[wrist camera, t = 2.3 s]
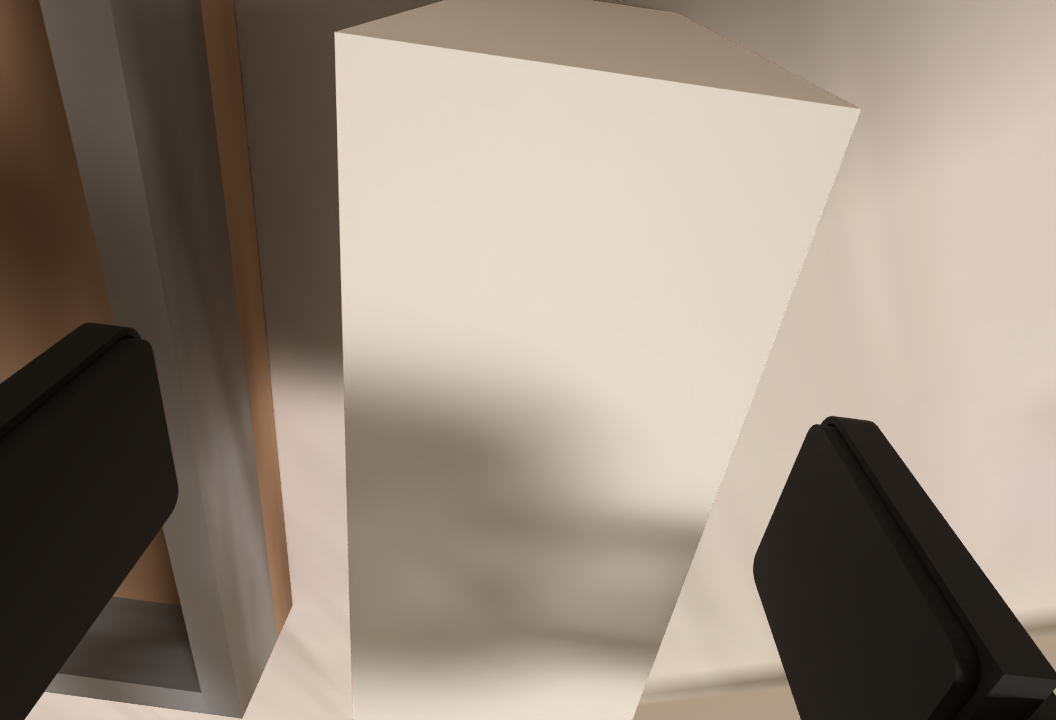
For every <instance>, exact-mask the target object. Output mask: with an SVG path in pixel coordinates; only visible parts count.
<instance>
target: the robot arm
mask: <svg viewBox="0 0 1056 720" xmlns="http://www.w3.org/2000/svg"><path fill="white" fill-rule="evenodd" d="M178 493H179V489H178V481H177V476H176V471H175V465H174V460H173V455H172V449H171V444H170V439H169V433H168V428H167V423H166V417H165V412H164V407H163V401H162V396H161V391H160V385H159V380H158V374H157V369H156V364H155V358H154V353H153V349H152V346H151V344H150V343H149V342H148V341H146V340H143V339H141V336H140V335H139V333H138V332H137V330H135V329H133V328H131V327H123V326H115V325H107V324H99V323H84V324H82V325H80V326H79V327H77V328H76V329H75V330H73V331H72V332H70V333H69V334H68V335H66V336H65V337H64V338H62V339H61V340H59V341H58V342H57V343H55V344H54V345H53V346H51V347H50V348H49V349H47V350H46V351H44V352H43V353H42V354H40V355H39V356H38V357H36V358H35V359H34V360H32V361H31V362H29V363H28V364H27V365H25V366H24V367H23V368H21V369H20V370H18V371H17V372H16V373H14V374H13V375H12V376H10V377H9V378H8V379H6V380H5V381H3V382H2V383H1V384H0V720H25V718H26V717H27V715H28V714H29V713H30V711H31V710H32V708H33V707H34V706H35V704H36V703H37V701H38V700H39V699H40V697H41V696H42V694H43V693H44V692H45V690H46V689H47V687H48V686H49V685H50V683H51V682H52V680H53V679H54V678H55V676H56V675H57V673H58V672H59V671H60V669H61V668H62V666H63V665H64V664H65V662H66V661H67V659H68V658H69V657H70V655H71V654H72V652H73V651H74V650H75V648H76V647H77V645H78V644H79V643H80V641H81V640H82V638H83V637H84V636H85V634H86V633H87V631H88V630H89V629H90V627H91V626H92V624H93V623H94V622H95V620H96V619H97V617H98V616H99V615H100V613H101V612H102V610H103V609H104V608H105V606H106V605H107V603H108V602H109V601H110V599H111V598H112V596H113V595H114V594H115V592H116V591H117V589H118V588H119V587H120V585H121V584H122V582H123V581H124V580H125V578H126V577H127V575H128V574H129V573H130V571H131V570H132V568H133V567H134V566H135V564H136V563H137V561H138V560H139V559H140V557H141V556H142V554H143V553H144V552H145V550H146V549H147V547H148V546H149V545H150V543H151V542H152V540H153V539H154V538H155V536H156V535H157V533H158V532H159V531H160V529H161V528H162V526H163V525H164V524H165V522H166V521H167V519H168V518H169V517H170V515H171V514H172V512H173V510H174V508H175V506H176V503H177V499H178ZM753 574H754V580H755V584H756V587H757V590H758V593H759V596H760V599H761V602H762V605H763V608H764V611H765V614H766V617H767V620H768V623H769V626H770V628H771V631H772V634H773V637H774V640H775V643H776V646H777V649H778V652H779V655H780V658H781V661H782V664H783V667H784V670H785V673H786V676H787V679H788V682H789V685H790V688H791V691H792V694H793V697H794V700H795V703H796V706H797V709H798V712H799V715H800V718H801V720H1056V695H1055V694H1054V693H1053V690H1054V689H1055V688H1056V672H1055V670H1054V669H1053V668H1052V666H1051V665H1050V663H1049V662H1048V661H1047V659H1046V658H1045V657H1044V655H1043V654H1042V652H1041V651H1040V650H1039V648H1038V647H1037V645H1036V644H1035V643H1034V641H1033V640H1032V639H1031V637H1030V636H1029V634H1028V633H1027V632H1026V630H1025V629H1024V628H1023V626H1022V625H1021V623H1020V622H1019V621H1018V619H1017V618H1016V617H1015V615H1014V614H1013V612H1012V611H1011V610H1010V608H1009V607H1008V605H1007V604H1006V603H1005V601H1004V600H1003V599H1002V597H1001V596H1000V594H999V593H998V592H997V590H996V589H995V588H994V586H993V585H992V583H991V582H990V581H989V579H988V578H987V577H986V575H985V574H984V572H983V571H982V570H981V568H980V567H979V565H978V564H977V563H976V561H975V560H974V559H973V557H972V556H971V554H970V553H969V552H968V550H967V549H966V548H965V546H964V545H963V543H962V542H961V541H960V539H959V538H958V537H957V535H956V534H955V532H954V531H953V530H952V528H951V527H950V526H949V524H948V523H947V521H946V520H945V519H944V517H943V516H942V514H941V513H940V512H939V510H938V509H937V508H936V506H935V505H934V503H933V502H932V501H931V499H930V498H929V497H928V495H927V494H926V492H925V491H924V490H923V488H922V487H921V486H920V484H919V483H918V481H917V480H916V479H915V477H914V476H913V474H912V473H911V472H910V470H909V469H908V468H907V466H906V465H905V463H904V462H903V461H902V459H901V458H900V457H899V455H898V454H897V452H896V451H895V450H894V448H893V447H892V446H891V444H890V443H889V441H888V440H887V439H886V437H885V436H884V434H883V433H882V432H881V430H880V429H879V428H878V426H877V425H876V424H875V423H874V422H871V421H867V420H859V419H851V418H844V417H836V416H830V417H827V418H826V419H825V420H824V421H823V422H822V424H821V425H819V424H816V425H813V426H812V427H811V428H810V429H809V431H808V433H807V435H806V437H805V440H804V442H803V444H802V447H801V449H800V451H799V454H798V456H797V458H796V461H795V463H794V465H793V468H792V470H791V472H790V475H789V477H788V480H787V482H786V484H785V487H784V489H783V491H782V494H781V496H780V498H779V501H778V503H777V505H776V508H775V510H774V512H773V515H772V517H771V519H770V522H769V524H768V526H767V529H766V531H765V533H764V536H763V538H762V541H761V543H760V545H759V548H758V550H757V552H756V555H755V558H754V564H753Z"/></svg>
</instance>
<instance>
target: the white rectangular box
mask: <svg viewBox="0 0 1056 720" xmlns="http://www.w3.org/2000/svg"><path fill="white" fill-rule="evenodd" d="M334 33H335V71H336V109H337V147H338V184H339V222H340V260H341V298H342V336H343V373H344V411H345V449H346V487H347V525H348V563H349V600H350V638H351V676H352V714H353V720H632V719H633V717H634V714H635V711H636V709H637V706H638V703H639V701H640V698H641V695H642V693H643V690H644V687H645V685H646V682H647V679H648V677H649V674H650V671H651V669H652V666H653V663H654V661H655V658H656V655H657V653H658V650H659V647H660V645H661V642H662V639H663V637H664V634H665V631H666V629H667V626H668V623H669V621H670V618H671V615H672V613H673V610H674V607H675V605H676V602H677V599H678V597H679V594H680V591H681V589H682V586H683V583H684V581H685V578H686V575H687V573H688V570H689V567H690V565H691V562H692V559H693V557H694V554H695V551H696V549H697V546H698V543H699V541H700V538H701V535H702V533H703V530H704V527H705V525H706V522H707V519H708V517H709V514H710V511H711V509H712V506H713V503H714V501H715V498H716V495H717V493H718V490H719V487H720V485H721V482H722V479H723V477H724V474H725V471H726V469H727V466H728V463H729V461H730V458H731V455H732V453H733V450H734V447H735V445H736V442H737V439H738V437H739V434H740V431H741V429H742V426H743V423H744V421H745V418H746V415H747V413H748V410H749V407H750V405H751V402H752V399H753V397H754V394H755V391H756V389H757V386H758V383H759V381H760V378H761V375H762V373H763V370H764V367H765V365H766V362H767V359H768V357H769V354H770V351H771V349H772V346H773V343H774V341H775V338H776V335H777V333H778V330H779V327H780V325H781V322H782V319H783V317H784V314H785V311H786V309H787V306H788V303H789V301H790V298H791V296H792V293H793V290H794V288H795V285H796V282H797V280H798V277H799V274H800V272H801V269H802V266H803V264H804V261H805V258H806V256H807V253H808V250H809V248H810V245H811V242H812V240H813V237H814V234H815V232H816V229H817V226H818V224H819V221H820V218H821V216H822V213H823V210H824V208H825V205H826V202H827V200H828V197H829V194H830V192H831V189H832V186H833V184H834V181H835V178H836V176H837V173H838V170H839V168H840V165H841V162H842V160H843V157H844V154H845V152H846V149H847V146H848V144H849V141H850V138H851V136H852V133H853V130H854V128H855V125H856V122H857V120H858V117H859V114H860V112H861V109H860V108H858V107H856V106H854V105H852V104H850V103H848V102H846V101H844V100H843V99H841V98H839V97H837V96H835V95H833V94H831V93H829V92H827V91H825V90H823V89H821V88H820V87H818V86H816V85H814V84H812V83H810V82H808V81H806V80H804V79H802V78H800V77H798V76H797V75H795V74H793V73H791V72H789V71H787V70H785V69H783V68H781V67H779V66H777V65H775V64H773V63H772V62H770V61H768V60H766V59H764V58H762V57H760V56H758V55H756V54H754V53H752V52H750V51H749V50H747V49H745V48H743V47H741V46H739V45H737V44H735V43H733V42H731V41H729V40H727V39H725V38H724V37H722V36H720V35H718V34H716V33H714V32H712V31H710V30H708V29H706V28H704V27H702V26H701V25H699V24H697V23H695V22H693V21H691V20H689V19H687V18H685V17H683V16H681V15H679V14H678V13H675V12H668V11H661V10H654V9H648V8H641V7H634V6H627V5H621V4H614V3H607V2H600V1H594V0H443V1H440V2H437V3H433V4H430V5H426V6H423V7H419V8H416V9H412V10H409V11H405V12H402V13H398V14H395V15H391V16H388V17H384V18H381V19H377V20H374V21H370V22H367V23H363V24H360V25H357V26H353V27H350V28H346V29H343V30H339V31H336V32H334Z"/></svg>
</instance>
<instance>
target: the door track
mask: <svg viewBox="0 0 1056 720" xmlns="http://www.w3.org/2000/svg"><path fill="white" fill-rule="evenodd" d="M84 323H99V324H107V325H115V326H123V327H131V328H133V329H135V330H137V332H138V333H139V335H140V336H141V339H143V340H146V341H148V342H149V343H150V344H151V346H152V349H153V353H154V358H155V364H156V369H157V374H158V380H159V385H160V391H161V396H162V401H163V407H164V412H165V417H166V423H167V428H168V433H169V439H170V444H171V449H172V455H173V460H174V465H175V471H176V476H177V481H178V489H179V493H178V499H177V503H176V506H175V508H174V510H173V512H172V514H171V515H170V517H169V518H168V519H167V521H166V522H165V524H164V525H163V526H162V528H161V529H160V531H159V532H158V533H157V535H156V536H155V538H154V539H153V540H152V542H151V543H150V545H149V546H148V547H147V549H146V550H145V552H144V553H143V554H142V556H141V557H140V559H139V560H138V561H137V563H136V564H135V566H134V567H133V568H132V570H131V571H130V573H129V574H128V575H127V577H126V578H125V580H124V581H123V582H122V584H121V585H120V587H119V588H118V589H117V591H116V592H115V594H114V595H113V596H112V598H111V599H110V601H109V602H108V603H107V605H106V606H105V608H104V609H103V610H102V612H101V613H100V615H99V616H98V617H97V619H96V620H95V622H94V623H93V624H92V626H91V627H90V629H89V630H88V631H87V633H86V634H85V636H84V637H83V638H82V640H81V641H80V643H79V644H78V645H77V647H76V648H75V650H74V651H73V652H72V654H71V655H70V657H69V658H68V659H67V661H66V662H65V664H64V665H63V666H62V668H61V669H60V671H59V672H58V673H57V675H56V676H55V678H54V679H53V680H52V682H51V683H50V685H49V686H48V687H47V689H46V690H45V692H50V693H58V694H65V695H73V696H80V697H87V698H95V699H102V700H109V701H117V702H124V703H131V704H139V705H146V706H154V707H161V708H168V709H176V710H183V711H190V712H198V713H205V714H213V715H220V716H227V717H235V718H243V716H244V713H245V711H246V709H247V707H248V704H249V702H250V700H251V698H252V695H253V693H254V691H255V689H256V686H257V684H258V682H259V680H260V677H261V675H262V673H263V671H264V668H265V666H266V664H267V662H268V659H269V657H270V655H271V653H272V650H273V648H274V646H275V644H276V641H277V639H278V637H279V634H280V632H281V630H282V628H283V625H284V623H285V621H286V619H287V616H288V614H289V612H290V610H291V607H292V596H291V586H290V575H289V565H288V555H287V544H286V534H285V524H284V513H283V503H282V493H281V482H280V472H279V462H278V452H277V441H276V431H275V421H274V410H273V400H272V390H271V379H270V369H269V359H268V348H267V338H266V328H265V318H264V307H263V297H262V287H261V276H260V266H259V256H258V245H257V235H256V225H255V214H254V204H253V194H252V183H251V173H250V163H249V153H248V142H247V132H246V122H245V111H244V101H243V91H242V80H241V70H240V60H239V49H238V39H237V29H236V18H235V8H234V0H0V384H1V383H2V382H3V381H5V380H6V379H8V378H9V377H10V376H12V375H13V374H14V373H16V372H17V371H18V370H20V369H21V368H23V367H24V366H25V365H27V364H28V363H29V362H31V361H32V360H34V359H35V358H36V357H38V356H39V355H40V354H42V353H43V352H44V351H46V350H47V349H49V348H50V347H51V346H53V345H54V344H55V343H57V342H58V341H59V340H61V339H62V338H64V337H65V336H66V335H68V334H69V333H70V332H72V331H73V330H75V329H76V328H77V327H79V326H80V325H82V324H84Z"/></svg>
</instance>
